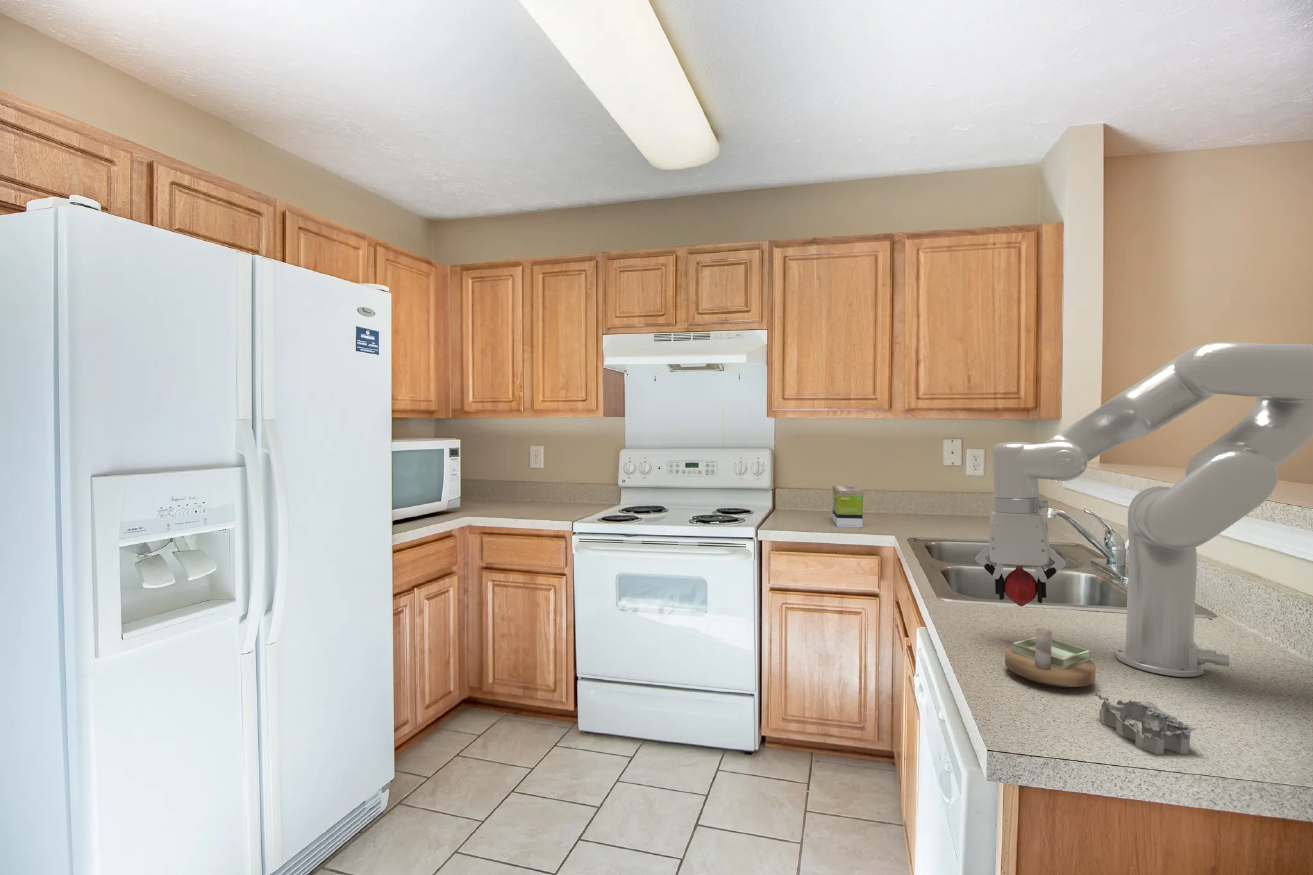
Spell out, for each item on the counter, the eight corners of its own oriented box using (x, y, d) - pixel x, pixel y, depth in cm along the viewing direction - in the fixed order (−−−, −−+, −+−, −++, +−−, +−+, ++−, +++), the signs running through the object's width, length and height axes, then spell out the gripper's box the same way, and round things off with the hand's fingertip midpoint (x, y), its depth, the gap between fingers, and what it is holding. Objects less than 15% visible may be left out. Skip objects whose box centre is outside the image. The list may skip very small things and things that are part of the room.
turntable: (1033, 651, 118) (1034, 607, 117) (1111, 676, 106) (1113, 628, 106) (988, 663, 111) (989, 617, 111) (1066, 692, 100) (1068, 641, 100)
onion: (1043, 610, 121) (1041, 567, 121) (1010, 610, 123) (1008, 568, 123) (1032, 602, 127) (1030, 561, 127) (1000, 602, 128) (998, 561, 128)
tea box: (831, 521, 267) (832, 485, 267) (856, 521, 266) (857, 485, 265) (836, 527, 252) (837, 489, 252) (863, 528, 251) (864, 490, 250)
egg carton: (1090, 718, 95) (1091, 690, 95) (1142, 719, 95) (1142, 691, 95) (1143, 756, 85) (1144, 725, 84) (1201, 757, 84) (1202, 726, 84)
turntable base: (1076, 674, 110) (1076, 669, 110) (1077, 692, 103) (1077, 685, 103) (1022, 665, 114) (1022, 659, 114) (1020, 680, 108) (1020, 674, 108)
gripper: (1069, 504, 123) (1073, 599, 124) (969, 503, 132) (973, 591, 133) (1070, 509, 117) (1074, 609, 117) (965, 507, 126) (969, 600, 126)
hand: (1020, 598), depth 125 cm, fingers closed on onion, 5 cm apart
